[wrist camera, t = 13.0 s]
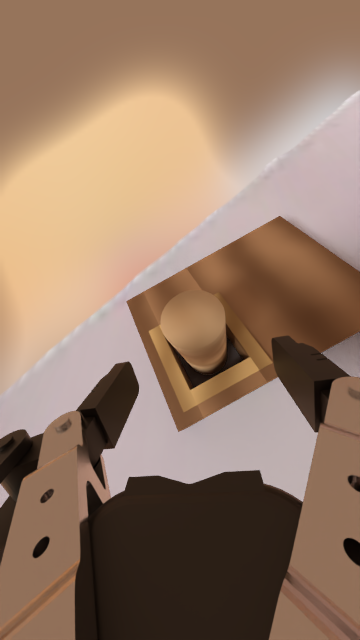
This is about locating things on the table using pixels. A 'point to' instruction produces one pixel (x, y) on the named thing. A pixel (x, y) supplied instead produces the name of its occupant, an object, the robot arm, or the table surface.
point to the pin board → (252, 312)
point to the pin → (197, 329)
